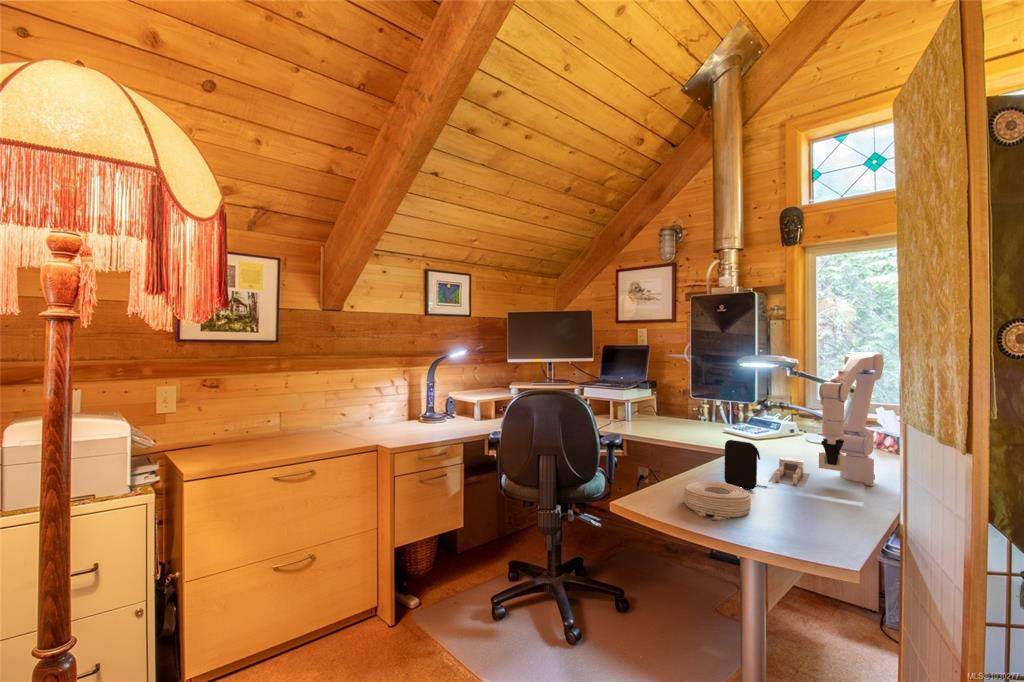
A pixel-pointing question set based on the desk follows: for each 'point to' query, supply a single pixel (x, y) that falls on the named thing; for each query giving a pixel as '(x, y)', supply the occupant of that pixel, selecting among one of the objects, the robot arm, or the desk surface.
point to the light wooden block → (838, 467)
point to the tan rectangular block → (791, 465)
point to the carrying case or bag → (741, 464)
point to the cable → (717, 499)
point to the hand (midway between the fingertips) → (832, 463)
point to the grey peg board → (789, 478)
